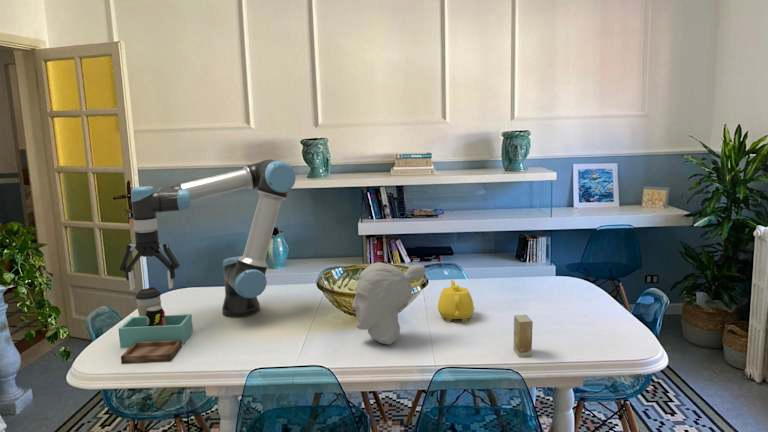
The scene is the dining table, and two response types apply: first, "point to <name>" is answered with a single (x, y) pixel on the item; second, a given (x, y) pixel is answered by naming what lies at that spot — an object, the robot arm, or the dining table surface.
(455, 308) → the teapot
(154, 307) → the beverage can
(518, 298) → the dining table surface
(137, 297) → the coffee cup
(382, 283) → the bust
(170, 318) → the teal open box
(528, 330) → the skincare box
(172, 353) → the tray
